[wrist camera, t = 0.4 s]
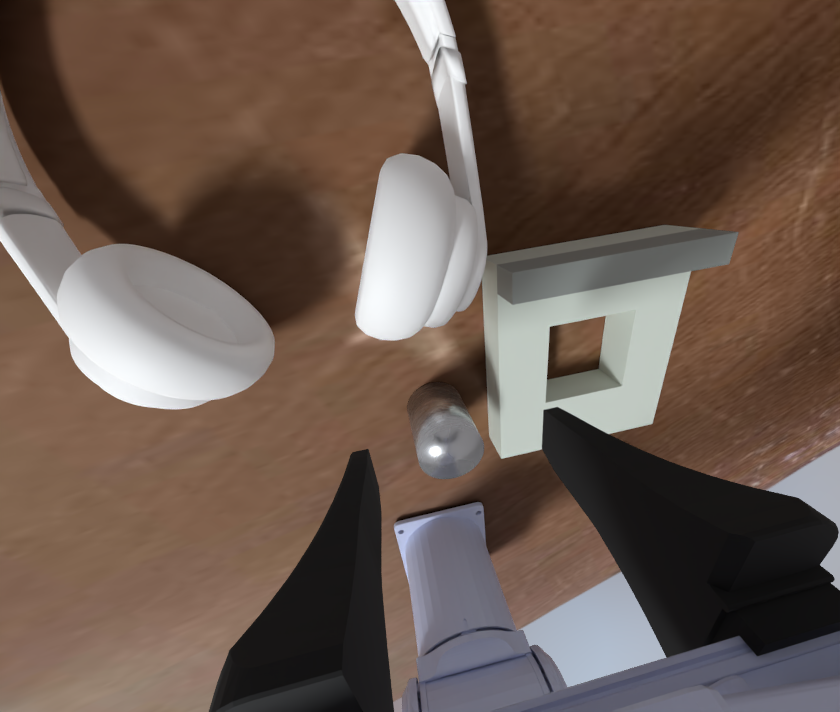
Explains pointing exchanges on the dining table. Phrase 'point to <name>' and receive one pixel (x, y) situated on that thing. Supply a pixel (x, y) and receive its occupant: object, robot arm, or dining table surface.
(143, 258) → the headphones
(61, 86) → the dining table surface
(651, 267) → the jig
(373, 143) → the dining table surface
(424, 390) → the peg
